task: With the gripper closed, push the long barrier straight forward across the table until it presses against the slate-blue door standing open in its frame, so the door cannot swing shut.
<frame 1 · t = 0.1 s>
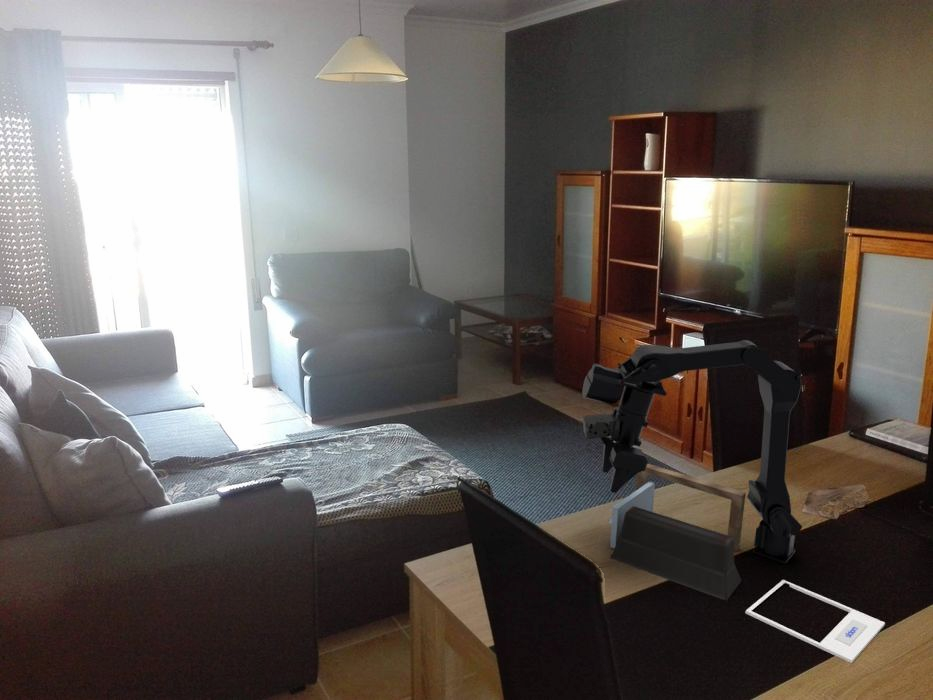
hand: (608, 481, 148), 15 cm above the table, tool pointing down, fingers open, 9 cm apart
wooden fragment: (836, 501, 176), on the table
door frame: (686, 532, 160), on the table
barrier: (673, 571, 146), on the table
door: (630, 512, 158), point 5 cm above the table, hinge at 90.1°
photo frame: (813, 622, 131), on the table
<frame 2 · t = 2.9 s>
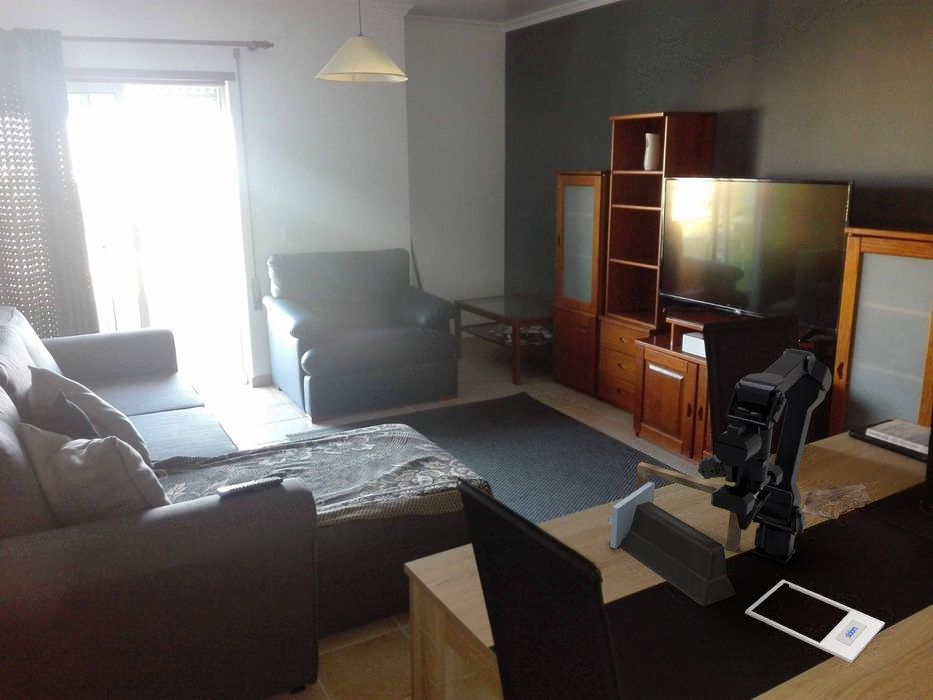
hand: (743, 529, 135), 13 cm above the table, tool pointing down, fingers closed
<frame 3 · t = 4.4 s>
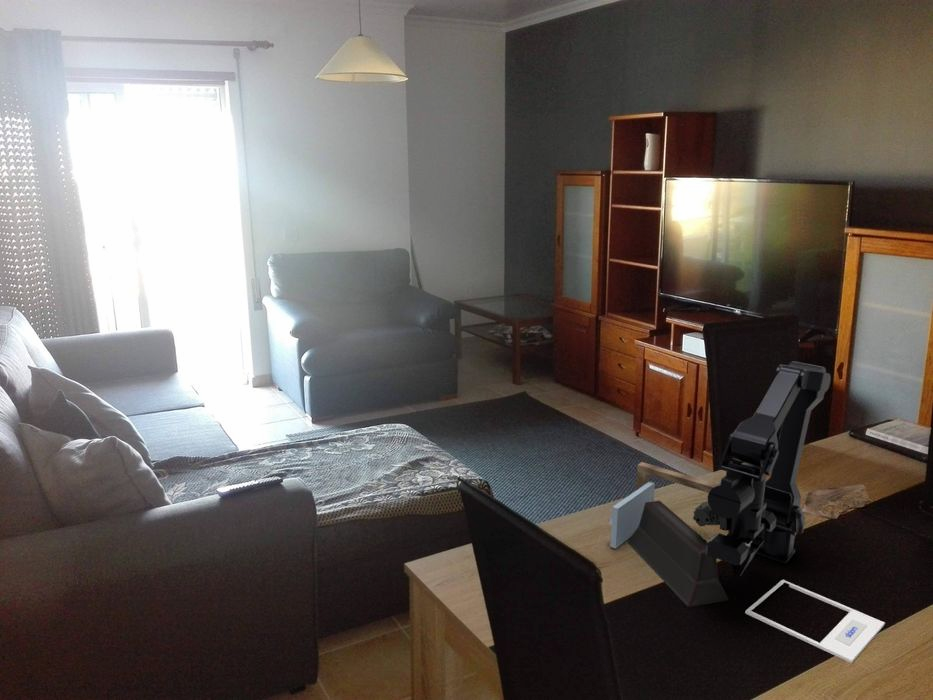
hand: (737, 575, 138), 4 cm above the table, tool pointing down, fingers closed
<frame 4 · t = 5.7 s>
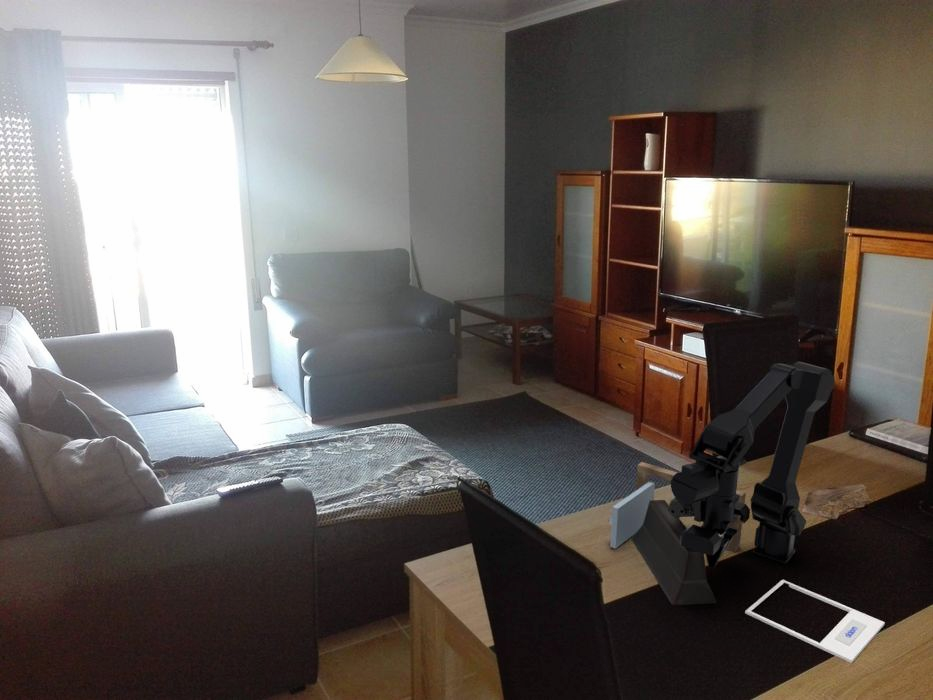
hand: (711, 565, 141), 4 cm above the table, tool pointing down, fingers closed
barrier: (670, 570, 147), on the table, touching gripper
everything else where it was.
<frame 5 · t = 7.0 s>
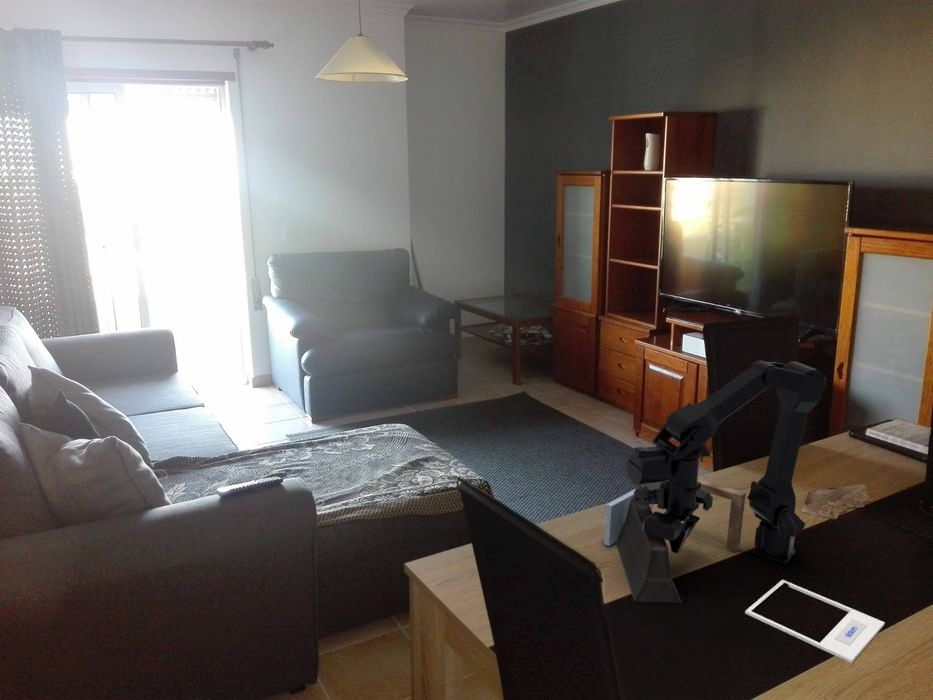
hand: (675, 552, 145), 4 cm above the table, tool pointing down, fingers closed
barrier: (644, 568, 147), on the table, touching gripper
door: (627, 511, 159), point 5 cm above the table, hinge at 95.4°
everything else where it was.
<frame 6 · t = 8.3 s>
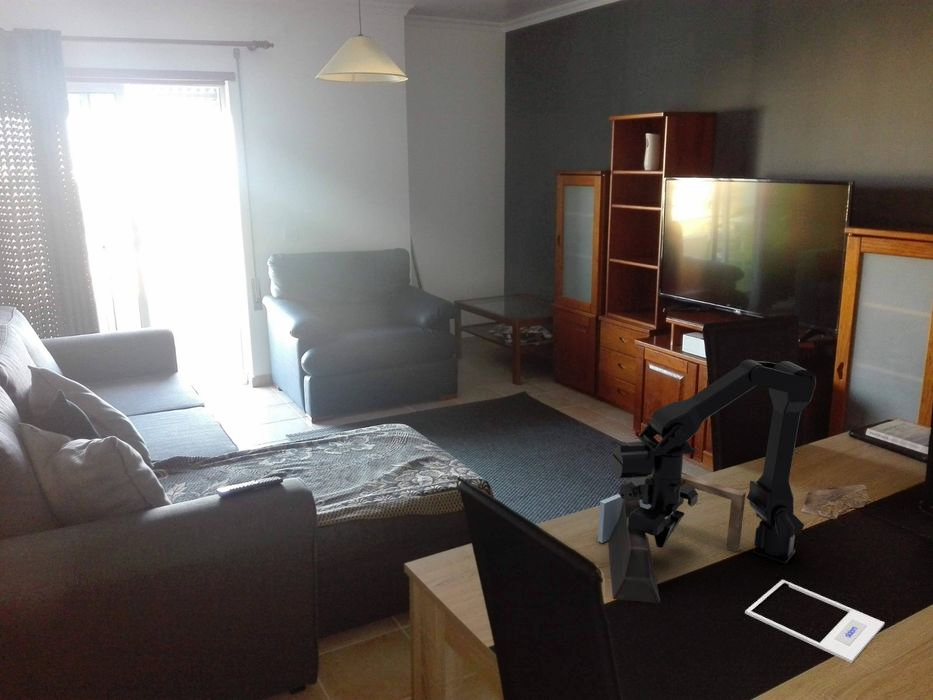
hand: (660, 546, 147), 4 cm above the table, tool pointing down, fingers closed
barrier: (631, 568, 147), on the table, touching door
door: (624, 509, 160), point 5 cm above the table, hinge at 101.4°, touching barrier
everything else where it was.
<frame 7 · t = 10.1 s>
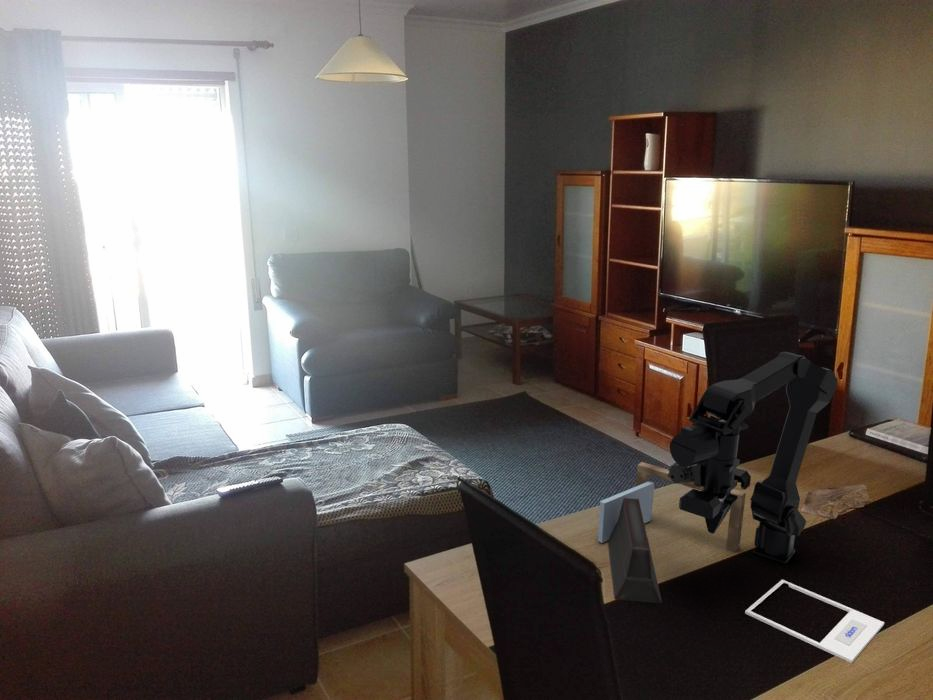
hand: (711, 532, 139), 10 cm above the table, tool pointing down, fingers closed
nothing on the table moved.
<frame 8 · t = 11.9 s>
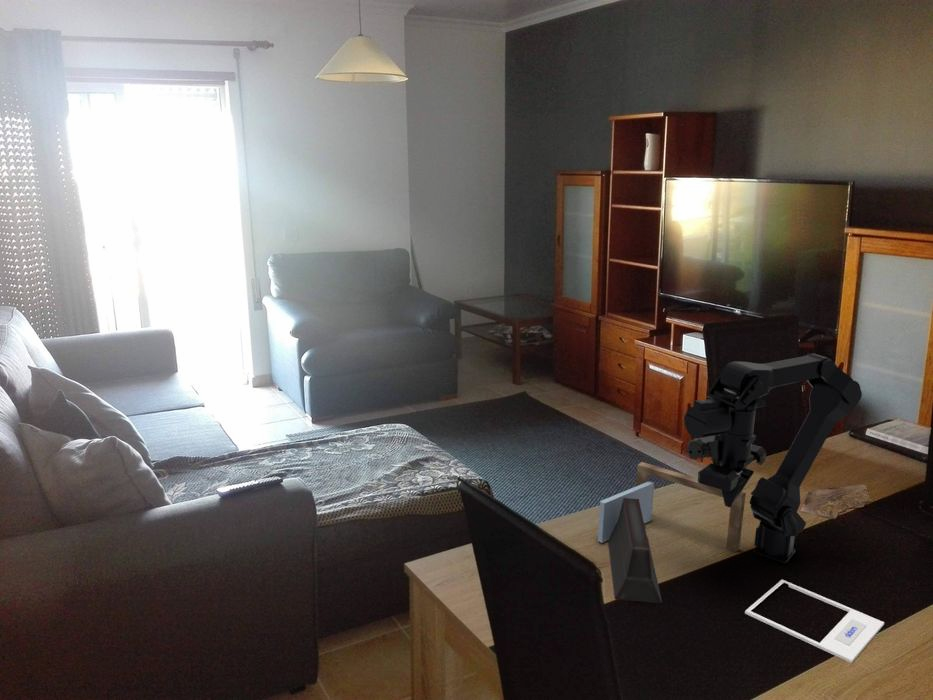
hand: (728, 506, 144), 13 cm above the table, tool pointing down, fingers closed
barrier: (632, 568, 147), on the table
door: (624, 509, 160), point 5 cm above the table, hinge at 101.5°
everything else where it was.
at the end: barrier inside the target area (4.2 cm from its centre), on the table; door at +102° (first picture: +90°); barrier tilted 0° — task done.
